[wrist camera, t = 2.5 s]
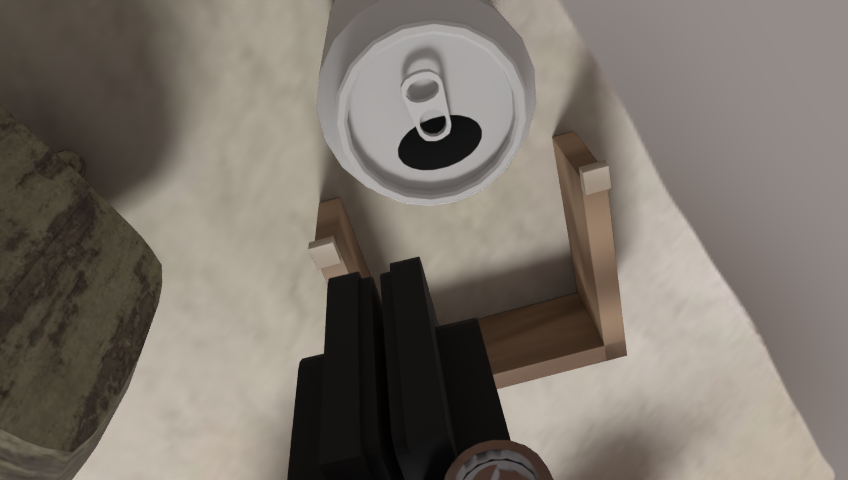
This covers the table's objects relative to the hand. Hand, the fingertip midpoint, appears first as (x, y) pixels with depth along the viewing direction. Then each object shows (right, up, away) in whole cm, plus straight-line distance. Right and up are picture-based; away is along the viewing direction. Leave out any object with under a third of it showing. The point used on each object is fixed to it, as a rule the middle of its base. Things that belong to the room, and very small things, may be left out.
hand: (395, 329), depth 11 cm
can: (0, +12, +18) cm, 22 cm away
